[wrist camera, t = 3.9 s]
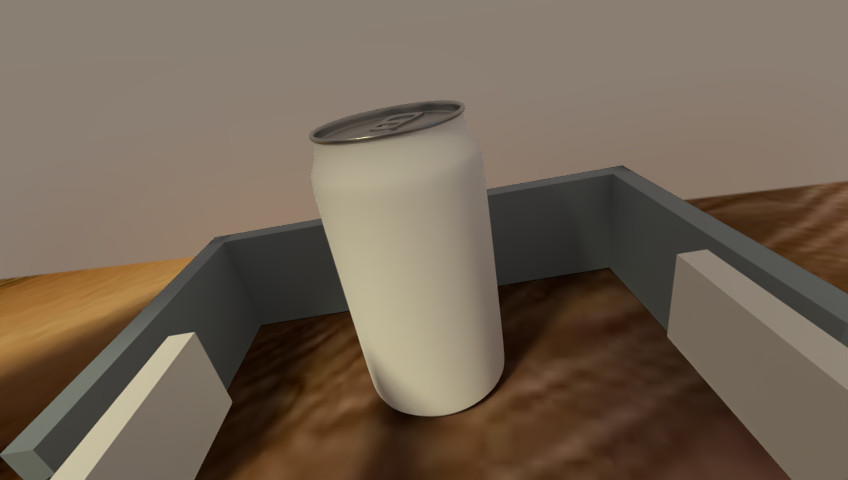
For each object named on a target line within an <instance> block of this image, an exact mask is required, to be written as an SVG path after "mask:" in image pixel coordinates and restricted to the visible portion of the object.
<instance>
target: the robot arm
mask: <svg viewBox="0 0 848 480" xmlns="http://www.w3.org/2000/svg"><path fill="white" fill-rule="evenodd" d="M667 337H668V338H669V339H670V341H671V342H672V343H673V344H674V345H675V346H676V347H677V349H678V350H679V351H680V352H681V353H682V354H683V355H684V357H685V358H686V359H687V360H688V361H689V362H690V364H691V365H692V366H693V367H694V368H695V369H696V370H697V372H698V373H699V374H700V375H701V376H702V377H703V378H704V380H705V381H706V382H707V383H708V384H709V385H710V387H711V388H712V389H713V390H714V391H715V392H716V393H717V395H718V396H719V397H720V398H721V399H722V400H723V401H724V403H725V404H726V405H727V406H728V407H729V408H730V410H731V411H732V412H733V413H734V414H735V415H736V416H737V418H738V419H739V420H740V421H741V422H742V423H743V424H744V426H745V427H746V428H747V429H748V430H749V431H750V433H751V434H752V435H753V436H754V437H755V438H756V439H757V441H758V442H759V443H760V444H761V445H762V446H763V447H764V449H765V450H766V451H767V452H768V453H769V454H770V456H771V457H772V458H773V459H774V460H775V461H776V462H777V464H778V465H779V466H780V467H781V468H782V469H783V470H784V472H785V473H786V474H787V475H788V476H789V477H790V479H791V480H848V348H847V347H846V346H844V345H843V344H842V343H840V342H839V341H837V340H836V339H834V338H833V337H832V336H830V335H829V334H827V333H826V332H824V331H823V330H822V329H820V328H819V327H817V326H816V325H814V324H813V323H812V322H810V321H809V320H807V319H806V318H804V317H803V316H802V315H800V314H799V313H797V312H796V311H794V310H793V309H792V308H790V307H789V306H787V305H786V304H784V303H783V302H782V301H780V300H779V299H777V298H776V297H774V296H773V295H772V294H770V293H769V292H767V291H766V290H764V289H763V288H762V287H760V286H759V285H757V284H756V283H754V282H753V281H752V280H750V279H749V278H747V277H746V276H744V275H743V274H742V273H740V272H739V271H737V270H736V269H734V268H733V267H732V266H730V265H729V264H727V263H726V262H724V261H723V260H722V259H720V258H719V257H717V256H716V255H714V254H713V253H712V252H710V251H709V250H707V249H706V250H700V251H694V252H688V253H681V254H677V259H676V267H675V275H674V283H673V291H672V299H671V307H670V316H669V324H668V332H667ZM232 403H233V402H232V400H231V398H230V396H229V395H228V393H227V391H226V389H225V387H224V385H223V383H222V382H221V380H220V378H219V376H218V374H217V372H216V370H215V369H214V367H213V365H212V363H211V361H210V359H209V358H208V356H207V354H206V352H205V350H204V348H203V346H202V345H201V343H200V341H199V339H198V337H197V335H196V333H195V332H192V333H186V334H180V335H173V336H168V337H167V339H166V340H165V341H164V342H163V343H162V345H161V346H160V347H159V348H158V349H157V351H156V352H155V353H154V354H153V356H152V357H151V358H150V359H149V360H148V362H147V363H146V364H145V365H144V366H143V368H142V369H141V370H140V371H139V372H138V374H137V375H136V376H135V377H134V379H133V380H132V381H131V382H130V383H129V385H128V386H127V387H126V388H125V389H124V391H123V392H122V393H121V394H120V395H119V397H118V398H117V399H116V400H115V402H114V403H113V404H112V405H111V406H110V408H109V409H108V410H107V411H106V412H105V414H104V415H103V416H102V417H101V418H100V420H99V421H98V422H97V423H96V425H95V426H94V427H93V428H92V429H91V431H90V432H89V433H88V434H87V435H86V437H85V438H84V439H83V440H82V441H81V443H80V444H79V445H78V446H77V448H76V449H75V450H74V451H73V452H72V454H71V455H70V456H69V457H68V458H67V460H66V461H65V462H64V463H63V465H62V466H61V467H60V468H59V469H58V471H57V472H56V473H55V474H54V475H53V477H49V478H48V479H46V480H194V479H195V477H196V475H197V473H198V471H199V469H200V467H201V465H202V463H203V461H204V459H205V457H206V455H207V453H208V451H209V449H210V447H211V445H212V443H213V441H214V439H215V437H216V435H217V433H218V431H219V429H220V427H221V425H222V423H223V421H224V419H225V417H226V415H227V413H228V411H229V409H230V407H231V405H232Z"/></svg>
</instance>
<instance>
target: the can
mask: <svg viewBox="0 0 848 480" xmlns="http://www.w3.org/2000/svg"><path fill="white" fill-rule="evenodd" d="M464 110H465V105H464V104H463V103H461V102H457V101H427V102H417V103H410V104H403V105H397V106H391V107H386V108H381V109H376V110H372V111H368V112H364V113H359V114H356V115H352V116H349V117H345V118H342V119H339V120H336V121H333V122H330V123H327V124H325V125H323V126H321V127H318V128H317V129H315V130H313V131H312V132H311V133H310V134H309V139H310V140H311V141H312V142H314V148H315V149H314V159H313V165H312V171H311V183H312V189H313V192H314V196H315V199H316V203H317V206H318V209H319V213H320V216H321V219H322V223H323V226H324V229H325V233H326V236H327V239H328V242H329V245H330V249H331V252H332V255H333V258H334V262H335V265H336V268H337V271H338V274H339V278H340V281H341V284H342V287H343V290H344V294H345V297H346V300H347V303H348V306H349V310H350V313H351V316H352V319H353V322H354V325H355V329H356V332H357V335H358V338H359V341H360V344H361V347H362V351H363V354H364V357H365V360H366V363H367V366H368V369H369V372H370V375H371V378H372V381H373V384H374V386H375V389H376V391H377V392H378V394H379V395H380V397H381V398H382V399H383V400H384V401H385V402H386V403H387V404H388V405H389V406H391V407H392V408H394V409H396V410H398V411H400V412H403V413H407V414H412V415H417V416H428V417H437V416H446V415H451V414H455V413H458V412H461V411H463V410H465V409H467V408H469V407H471V406H473V405H474V404H476V403H477V402H479V401H480V400H481V399H483V398H484V397H485V396H486V395H487V394H488V393H489V392H490V391H491V390H492V389H493V388H494V387H495V385H496V384H497V382H498V381H499V379H500V377H501V375H502V372H503V368H504V346H503V336H502V326H501V316H500V307H499V297H498V288H497V279H496V270H495V261H494V251H493V242H492V233H491V224H490V216H489V207H488V198H487V189H486V181H485V172H484V165H483V158H482V152H481V148H480V144H479V142H478V141H477V139H476V137H475V135H474V134H473V132H472V131H471V129H470V128H469V127H468V125H467V123H466V121H465V119H464V115H463V112H464Z"/></svg>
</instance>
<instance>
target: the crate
mask: <svg viewBox="0 0 848 480" xmlns="http://www.w3.org/2000/svg"><path fill="white" fill-rule="evenodd" d="M487 198H488V207H489V216H490V224H491V233H492V242H493V251H494V261H495V270H496V279H497V286H500V285H506V284H512V283H518V282H524V281H531V280H537V279H543V278H549V277H555V276H561V275H567V274H573V273H579V272H585V271H591V270H597V269H603V268H610V269H611V270H612V271H613V272H614V273H615V274H616V276H617V277H618V278H619V279H620V280H621V281H622V282H623V283H624V284H625V286H626V287H627V288H628V289H629V290H630V291H631V292H632V293H633V294H634V296H635V297H636V298H637V299H638V300H639V301H640V302H641V303H642V304H643V306H644V307H645V308H646V309H647V310H648V311H649V312H650V313H651V314H652V316H653V317H654V318H655V319H656V320H657V321H658V322H659V323H660V324H661V326H662V327H663V328H664V329H665V330H666V331H667V332H668V324H669V316H670V307H671V299H672V291H673V283H674V275H675V267H676V259H677V254H681V253H688V252H694V251H700V250H706V249H707V250H709V251H710V252H712V253H713V254H714V255H716V256H717V257H719V258H720V259H722V260H723V261H724V262H726V263H727V264H729V265H730V266H732V267H733V268H734V269H736V270H737V271H739V272H740V273H742V274H743V275H744V276H746V277H747V278H749V279H750V280H752V281H753V282H754V283H756V284H757V285H759V286H760V287H762V288H763V289H764V290H766V291H767V292H769V293H770V294H772V295H773V296H774V297H776V298H777V299H779V300H780V301H782V302H783V303H784V304H786V305H787V306H789V307H790V308H792V309H793V310H794V311H796V312H797V313H799V314H800V315H802V316H803V317H804V318H806V319H807V320H809V321H810V322H812V323H813V324H814V325H816V326H817V327H819V328H820V329H822V330H823V331H824V332H826V333H827V334H829V335H830V336H832V337H833V338H834V339H836V340H837V341H839V342H840V343H842V344H843V345H844V346H846V347H847V348H848V294H847V293H845V292H843V291H842V290H840V289H838V288H836V287H835V286H833V285H831V284H829V283H828V282H826V281H824V280H822V279H821V278H819V277H817V276H815V275H814V274H812V273H810V272H808V271H807V270H805V269H803V268H801V267H799V266H798V265H796V264H794V263H792V262H791V261H789V260H787V259H785V258H784V257H782V256H780V255H778V254H777V253H775V252H773V251H771V250H770V249H768V248H766V247H764V246H763V245H761V244H759V243H757V242H756V241H754V240H752V239H750V238H749V237H747V236H745V235H743V234H742V233H740V232H738V231H736V230H735V229H733V228H731V227H729V226H728V225H726V224H724V223H722V222H721V221H719V220H717V219H715V218H714V217H712V216H710V215H708V214H707V213H705V212H703V211H701V210H700V209H698V208H696V207H694V206H693V205H691V204H689V203H687V202H686V201H684V200H682V199H680V198H679V197H677V196H675V195H673V194H672V193H670V192H668V191H666V190H664V189H663V188H661V187H659V186H658V185H656V184H654V183H652V182H650V181H649V180H647V179H645V178H643V177H642V176H640V175H638V174H636V173H635V172H633V171H631V170H629V169H628V168H626V167H624V166H617V167H611V168H605V169H601V170H595V171H588V172H583V173H577V174H571V175H566V176H561V177H554V178H549V179H543V180H538V181H532V182H527V183H520V184H515V185H509V186H503V187H498V188H492V189H487ZM344 311H350V310H349V306H348V303H347V300H346V297H345V294H344V290H343V287H342V284H341V281H340V278H339V274H338V271H337V268H336V265H335V262H334V258H333V255H332V252H331V249H330V245H329V242H328V239H327V236H326V233H325V229H324V226H323V223H322V219H316V220H311V221H306V222H299V223H294V224H288V225H282V226H277V227H271V228H265V229H260V230H254V231H248V232H243V233H237V234H231V235H226V236H220V237H215V238H214V239H213V240H212V241H211V242H210V243H209V244H208V245H207V246H206V247H205V248H204V249H203V250H202V251H201V252H200V253H199V254H198V255H197V256H196V257H195V258H194V259H193V260H192V261H191V262H190V263H189V264H188V265H187V266H186V267H185V268H184V269H183V270H182V271H181V272H180V273H179V274H178V275H177V276H176V277H175V278H174V279H173V280H172V281H171V282H170V283H169V284H168V285H167V286H166V287H165V288H164V289H163V290H162V291H161V292H160V293H159V294H158V295H157V296H156V297H155V298H154V299H153V300H152V301H151V302H150V303H149V304H148V305H147V306H146V307H145V308H144V309H143V310H142V311H141V312H140V313H139V315H138V316H137V317H136V318H135V319H134V320H133V321H132V322H131V323H130V324H129V325H128V326H127V327H126V328H125V329H124V330H123V331H122V332H121V333H120V334H119V335H118V336H117V337H116V338H115V339H114V340H113V341H112V342H111V343H110V344H109V345H108V346H107V347H106V348H105V349H104V350H103V351H102V352H101V353H100V354H99V355H98V356H97V357H96V358H95V359H94V360H93V361H92V362H91V363H90V364H89V365H88V366H87V367H86V368H85V369H84V370H83V371H82V372H81V373H80V374H79V375H78V376H77V377H76V378H75V379H74V380H73V381H72V382H71V383H70V384H69V385H68V386H67V387H66V388H65V389H64V390H63V391H62V392H61V393H60V394H59V395H58V396H57V397H56V398H55V399H54V400H53V401H52V402H51V403H50V404H49V405H48V406H47V407H46V408H45V409H44V410H43V411H42V412H41V413H40V414H39V415H38V416H37V417H36V418H35V419H34V420H33V421H32V422H31V423H30V424H29V426H28V427H27V428H26V429H25V430H24V431H23V432H22V433H21V434H20V435H19V436H18V437H17V438H16V439H15V440H14V441H13V442H12V443H11V444H10V445H9V446H8V447H7V448H6V449H5V450H4V451H3V452H2V453H1V454H0V456H1V457H2V458H3V459H4V460H5V461H6V462H7V463H8V464H9V466H10V467H11V468H12V469H13V470H14V471H15V472H16V473H17V474H18V475H19V476H20V477H21V478H22V479H23V480H46V479H48V478H49V477H53V475H54V474H55V473H56V472H57V471H58V469H59V468H60V467H61V466H62V465H63V463H64V462H65V461H66V460H67V458H68V457H69V456H70V455H71V454H72V452H73V451H74V450H75V449H76V448H77V446H78V445H79V444H80V443H81V441H82V440H83V439H84V438H85V437H86V435H87V434H88V433H89V432H90V431H91V429H92V428H93V427H94V426H95V425H96V423H97V422H98V421H99V420H100V418H101V417H102V416H103V415H104V414H105V412H106V411H107V410H108V409H109V408H110V406H111V405H112V404H113V403H114V402H115V400H116V399H117V398H118V397H119V395H120V394H121V393H122V392H123V391H124V389H125V388H126V387H127V386H128V385H129V383H130V382H131V381H132V380H133V379H134V377H135V376H136V375H137V374H138V372H139V371H140V370H141V369H142V368H143V366H144V365H145V364H146V363H147V362H148V360H149V359H150V358H151V357H152V356H153V354H154V353H155V352H156V351H157V349H158V348H159V347H160V346H161V345H162V343H163V342H164V341H165V340H166V339H167V337H168V336H173V335H180V334H186V333H192V332H195V333H196V335H197V337H198V339H199V341H200V343H201V345H202V346H203V348H204V350H205V352H206V354H207V356H208V358H209V359H210V361H211V363H212V365H213V367H214V369H215V370H216V372H217V374H218V376H219V378H220V380H221V382H222V383H223V385H224V387H225V389H226V391H227V390H228V388H229V386H230V384H231V382H232V380H233V378H234V376H235V375H236V373H237V371H238V369H239V367H240V365H241V363H242V361H243V359H244V357H245V355H246V353H247V351H248V349H249V348H250V346H251V344H252V342H253V340H254V338H255V336H256V334H257V332H258V330H259V328H260V326H261V325H265V324H271V323H277V322H283V321H289V320H295V319H301V318H307V317H313V316H319V315H325V314H332V313H338V312H344Z"/></svg>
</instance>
